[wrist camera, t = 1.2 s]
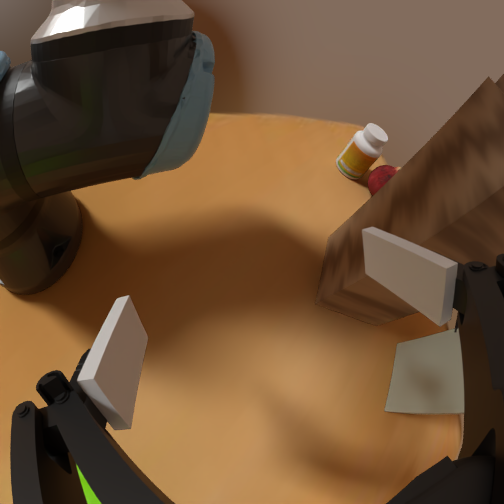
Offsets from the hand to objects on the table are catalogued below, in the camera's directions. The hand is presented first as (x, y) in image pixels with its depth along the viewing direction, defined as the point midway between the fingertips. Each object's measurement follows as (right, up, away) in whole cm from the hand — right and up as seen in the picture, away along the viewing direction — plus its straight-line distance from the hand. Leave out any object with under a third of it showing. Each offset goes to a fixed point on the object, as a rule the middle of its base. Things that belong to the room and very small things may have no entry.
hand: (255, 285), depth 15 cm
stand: (+14, -2, +22) cm, 26 cm away
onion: (+21, +12, +31) cm, 39 cm away
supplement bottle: (+17, +16, +32) cm, 39 cm away
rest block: (+22, -17, +18) cm, 34 cm away
